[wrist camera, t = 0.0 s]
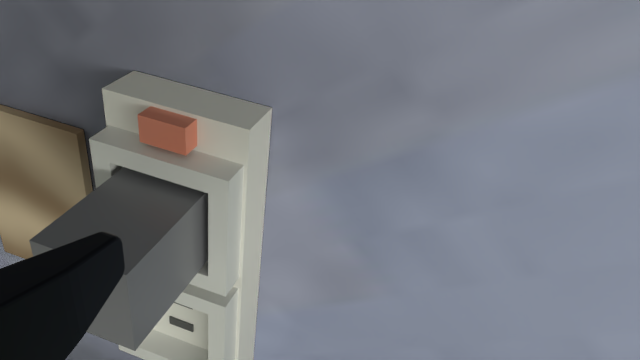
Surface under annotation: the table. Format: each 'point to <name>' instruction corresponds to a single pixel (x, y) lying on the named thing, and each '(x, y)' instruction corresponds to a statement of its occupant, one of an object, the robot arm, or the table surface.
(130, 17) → the table surface
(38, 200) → the cork pad
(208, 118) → the power strip
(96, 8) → the table surface
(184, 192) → the block
